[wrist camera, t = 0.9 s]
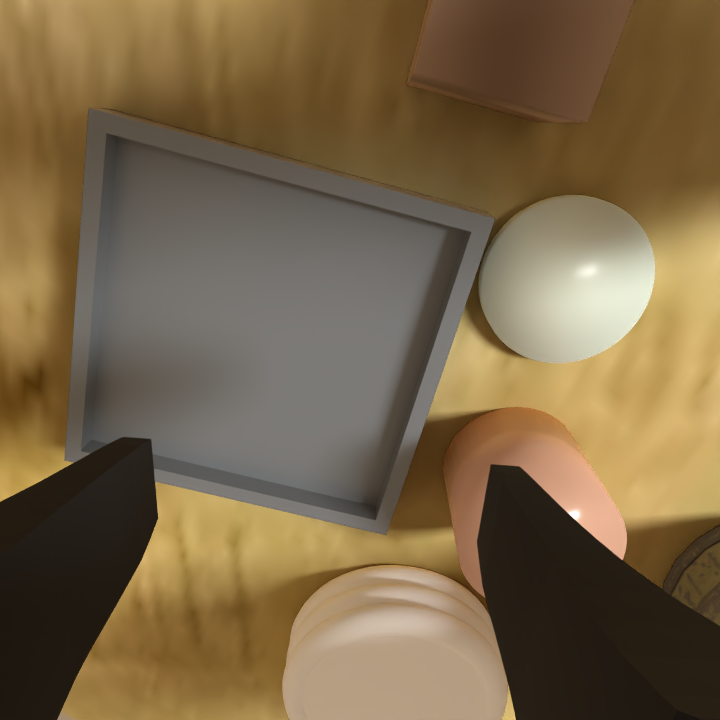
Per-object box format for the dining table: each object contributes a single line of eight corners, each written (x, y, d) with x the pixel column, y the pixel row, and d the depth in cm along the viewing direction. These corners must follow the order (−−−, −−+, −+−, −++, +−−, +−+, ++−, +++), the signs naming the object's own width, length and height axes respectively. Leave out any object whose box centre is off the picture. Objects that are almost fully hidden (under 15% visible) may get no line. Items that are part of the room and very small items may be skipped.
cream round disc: (316, 537, 26) (307, 596, 23) (525, 585, 27) (545, 649, 23) (273, 687, 30) (260, 756, 26) (457, 726, 30) (467, 798, 27)
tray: (487, 212, 20) (495, 218, 19) (385, 512, 25) (386, 535, 24) (109, 109, 19) (88, 107, 18) (82, 440, 24) (64, 460, 23)
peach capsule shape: (601, 425, 23) (655, 501, 18) (549, 534, 25) (586, 626, 21) (468, 392, 23) (490, 460, 18) (426, 505, 25) (436, 592, 20)
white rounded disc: (671, 219, 20) (685, 224, 19) (601, 369, 22) (611, 380, 22) (510, 173, 20) (517, 175, 19) (455, 331, 22) (458, 340, 21)
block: (592, -35, 17) (669, -92, 13) (537, 122, 19) (587, 122, 14) (448, -79, 17) (474, -155, 12) (406, 85, 19) (414, 72, 14)
